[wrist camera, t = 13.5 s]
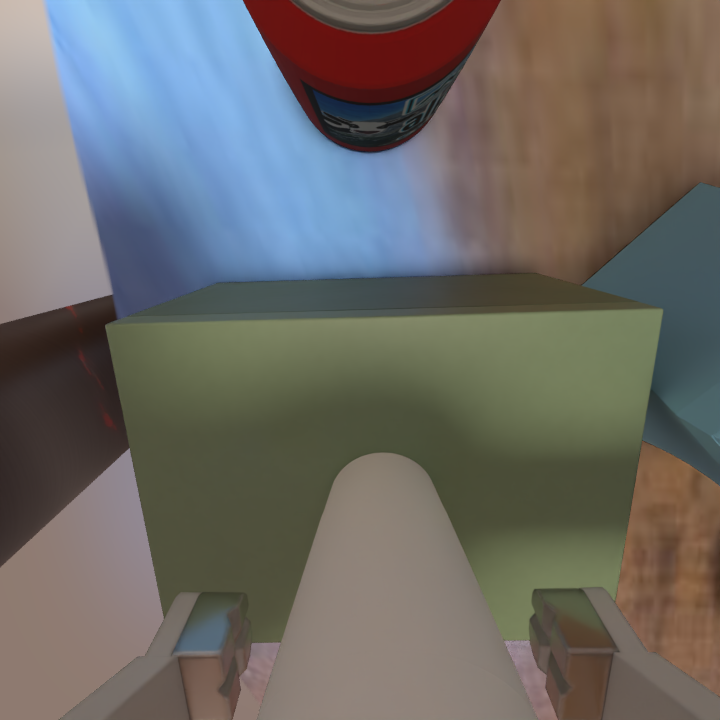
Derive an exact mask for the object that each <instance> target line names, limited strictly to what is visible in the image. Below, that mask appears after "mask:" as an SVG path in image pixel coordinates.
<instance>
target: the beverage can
mask: <svg viewBox="0 0 720 720" xmlns="http://www.w3.org/2000/svg"><path fill="white" fill-rule="evenodd" d="M500 1H501V0H243V2H244V4H245V6H246V8H247V9H248V11H249V13H250V15H251V17H252V19H253V21H254V23H255V25H256V27H257V28H258V30H259V32H260V34H261V36H262V38H263V40H264V42H265V44H266V45H267V47H268V49H269V51H270V53H271V54H272V56H273V58H274V60H275V62H276V63H277V65H278V67H279V69H280V71H281V72H282V74H283V76H284V78H285V79H286V81H287V83H288V85H289V86H290V88H291V90H292V92H293V93H294V95H295V97H296V98H297V100H298V102H299V103H300V105H301V107H302V108H303V110H304V111H305V113H306V115H307V116H308V118H309V119H310V120H311V122H312V123H313V124H314V125H315V127H316V128H317V129H318V130H319V131H320V132H321V133H323V134H324V135H325V136H326V137H328V138H329V139H330V140H332V141H334V142H335V143H337V144H339V145H341V146H344V147H346V148H349V149H353V150H358V151H368V152H371V151H382V150H386V149H390V148H393V147H396V146H398V145H400V144H402V143H404V142H406V141H407V140H409V139H410V138H412V137H413V136H414V135H416V134H417V133H418V132H419V131H420V130H421V129H422V128H423V127H424V126H425V125H426V124H427V123H428V121H429V120H430V119H431V117H432V116H433V115H434V113H435V111H436V110H437V108H438V107H439V105H440V104H441V102H442V101H443V99H444V97H445V96H446V94H447V93H448V91H449V89H450V88H451V86H452V84H453V83H454V81H455V79H456V78H457V76H458V74H459V73H460V71H461V69H462V68H463V66H464V64H465V63H466V61H467V59H468V58H469V56H470V54H471V53H472V51H473V49H474V47H475V46H476V44H477V42H478V40H479V38H480V37H481V35H482V33H483V31H484V30H485V28H486V26H487V24H488V22H489V21H490V19H491V17H492V15H493V14H494V12H495V10H496V8H497V6H498V4H499V3H500Z"/></svg>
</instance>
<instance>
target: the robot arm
mask: <svg viewBox="0 0 720 720" xmlns="http://www.w3.org/2000/svg"><path fill="white" fill-rule="evenodd" d="M531 604H532V606H533V608H534V611H535V613H534V614H533V615H532V616H531V618H530V619H529V637H530V645H531V649H532V652H533V656H534V659H535V661H536V664H537V667H538V668H539V669H540V670H541V671H543V672H544V673H545V674H546V675H547V678H546V690H547V693H548V695H549V698H550V700H551V703H552V706H553V708H554V711H555V713H556V716H557V718H558V720H720V697H719V696H718V695H716V694H715V693H713V692H712V691H710V690H709V689H708V688H706V687H705V686H703V685H702V684H700V683H699V682H698V681H696V680H695V679H693V678H692V677H690V676H689V675H687V674H686V673H685V672H683V671H682V670H680V669H679V668H677V667H676V666H674V665H673V664H672V663H670V662H669V661H667V660H666V659H664V658H663V657H661V656H660V655H659V654H657V653H656V652H648V651H647V650H646V648H645V647H644V645H643V644H642V642H641V641H640V639H639V638H638V636H637V635H636V633H635V632H634V630H633V629H632V627H631V626H630V624H629V623H628V621H627V620H626V618H625V617H624V615H623V614H622V612H621V611H620V609H619V608H618V606H617V605H616V603H615V602H614V600H613V599H612V597H611V596H610V594H609V593H608V591H607V590H606V589H604V588H603V587H585V588H545V589H534V591H533V593H532V599H531ZM248 607H249V603H248V598H247V594H246V593H240V592H181V593H180V594H179V595H178V596H176V598H175V599H174V601H173V603H172V605H171V607H170V609H169V611H168V613H167V614H166V616H165V618H164V620H163V622H162V624H161V626H160V628H159V630H158V632H157V634H156V635H155V637H154V639H153V642H152V643H151V645H150V647H149V649H148V651H147V653H146V654H145V656H142V657H137V658H135V659H134V660H133V661H132V662H130V663H129V664H128V665H127V666H125V667H124V668H123V669H122V670H120V671H119V672H118V673H117V674H115V675H114V676H113V677H112V678H110V679H109V680H108V681H106V682H105V683H104V684H103V685H101V686H100V687H99V688H98V689H96V690H95V691H94V692H93V693H92V694H90V695H89V696H88V697H86V698H85V699H84V700H83V701H81V702H80V703H79V704H78V705H76V706H75V707H74V708H73V709H71V710H70V711H69V712H68V713H66V714H65V715H64V716H63V717H61V718H60V719H59V720H232V719H233V716H234V712H235V709H236V705H237V701H238V698H239V695H240V691H241V687H240V679H239V676H240V675H241V674H242V673H243V672H244V671H245V670H246V669H247V665H248V662H249V658H250V652H251V644H252V626H251V621H250V620H249V619H248V618H247V617H246V614H247V610H248Z"/></svg>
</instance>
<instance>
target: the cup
mask: <svg viewBox="0 0 720 720" xmlns="http://www.w3.org/2000/svg"><path fill="white" fill-rule="evenodd" d="M257 720H538V718H537V716H536V713H535V711H534V709H533V706H532V704H531V702H530V699H529V697H528V695H527V693H526V690H525V688H524V686H523V683H522V681H521V679H520V677H519V674H518V672H517V670H516V667H515V665H514V663H513V661H512V658H511V656H510V654H509V652H508V649H507V647H506V645H505V643H504V640H503V638H502V636H501V634H500V631H499V629H498V627H497V625H496V622H495V620H494V618H493V616H492V613H491V611H490V609H489V607H488V604H487V602H486V600H485V598H484V595H483V593H482V591H481V589H480V586H479V584H478V582H477V580H476V577H475V575H474V573H473V571H472V568H471V566H470V564H469V562H468V559H467V557H466V555H465V553H464V550H463V548H462V546H461V544H460V541H459V539H458V537H457V535H456V532H455V530H454V528H453V526H452V523H451V521H450V519H449V517H448V515H447V512H446V510H445V508H444V507H443V505H442V502H441V500H440V498H439V496H438V493H437V491H436V489H435V487H434V485H433V483H432V480H431V479H430V477H429V475H428V474H427V472H426V471H425V470H424V469H423V468H422V467H421V466H420V465H419V464H417V463H416V462H414V461H413V460H411V459H409V458H407V457H404V456H402V455H398V454H394V453H383V452H382V453H372V454H368V455H364V456H361V457H359V458H357V459H355V460H353V461H352V462H350V463H349V464H347V465H346V466H345V467H344V468H343V469H342V470H341V471H340V472H339V474H338V475H337V477H336V478H335V480H334V482H333V485H332V488H331V491H330V494H329V497H328V500H327V503H326V506H325V509H324V512H323V514H322V517H321V520H320V523H319V526H318V529H317V532H316V535H315V538H314V541H313V544H312V547H311V551H310V554H309V557H308V560H307V563H306V566H305V569H304V572H303V575H302V579H301V582H300V585H299V588H298V591H297V594H296V597H295V600H294V603H293V607H292V610H291V613H290V616H289V619H288V622H287V625H286V628H285V631H284V635H283V638H282V641H281V644H280V647H279V650H278V653H277V657H276V660H275V663H274V666H273V669H272V672H271V675H270V679H269V682H268V685H267V688H266V691H265V694H264V698H263V701H262V704H261V707H260V710H259V714H258V717H257Z"/></svg>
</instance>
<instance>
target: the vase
mask: <svg viewBox="0 0 720 720" xmlns="http://www.w3.org/2000/svg"><path fill="white" fill-rule="evenodd" d="M581 286H584V287H588V288H591V289H595V290H598V291H602V292H606V293H609V294H613V295H617V296H620V297H624V298H627V299H631V300H635V301H638V302H641V303H645V304H648V305H652V306H655V307H659V308H662V309H663V317H662V323H661V329H660V335H659V341H658V347H657V353H656V359H655V365H654V371H653V377H652V383H651V389H650V395H649V401H648V407H647V413H646V419H645V425H644V431H643V437H642V440H643V441H645V442H647V443H650V444H652V445H654V446H656V447H658V448H660V449H662V450H664V451H666V452H668V453H670V454H672V455H674V456H676V457H677V458H679V459H681V460H683V461H685V462H686V463H688V464H690V465H691V466H693V467H694V468H696V469H697V470H699V471H700V472H702V473H703V474H704V475H706V476H707V477H709V478H710V479H712V480H713V481H714V482H715V483H717V484H718V485H719V486H720V188H718V187H715V186H711V185H708V184H704V183H701V182H700V183H699V184H698V185H697V186H695V187H694V188H693V189H692V190H691V191H690V192H688V193H687V194H686V195H685V196H684V197H683V198H682V199H680V200H679V201H678V202H677V203H676V204H675V205H674V206H672V207H671V208H670V209H669V210H668V211H667V212H665V213H664V214H663V215H662V216H661V217H660V218H659V219H657V220H656V221H655V222H654V223H653V224H652V225H650V226H649V227H648V228H647V229H646V230H645V231H644V232H642V233H641V234H640V235H639V236H638V237H637V238H636V239H634V240H633V241H632V242H631V243H630V244H629V245H627V246H626V247H625V248H624V249H623V250H622V251H621V252H619V253H618V254H617V255H616V256H615V257H614V258H612V259H611V260H610V261H609V262H608V263H607V264H606V265H604V266H603V267H602V268H601V269H600V270H599V271H598V272H596V273H595V274H594V275H593V276H592V277H591V278H589V279H588V280H587V281H586V282H585V283H584V284H583V285H581Z"/></svg>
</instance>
